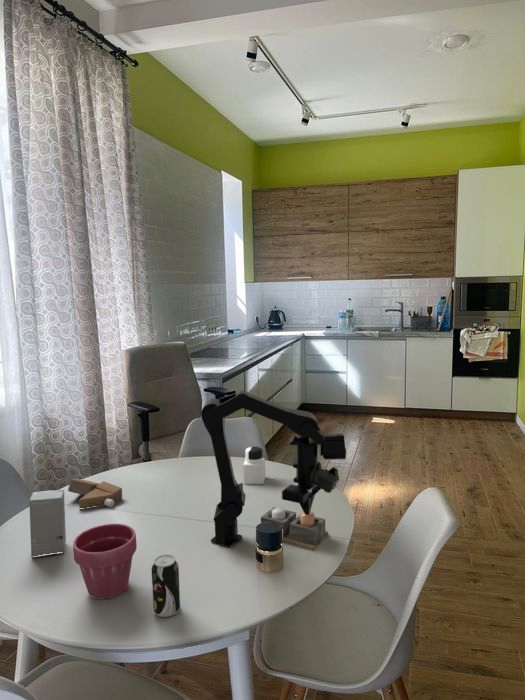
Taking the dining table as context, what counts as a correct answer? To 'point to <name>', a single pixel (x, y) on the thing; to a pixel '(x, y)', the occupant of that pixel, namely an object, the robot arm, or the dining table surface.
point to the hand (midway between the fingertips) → (307, 514)
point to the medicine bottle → (254, 466)
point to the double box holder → (298, 530)
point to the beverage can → (165, 586)
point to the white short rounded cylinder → (278, 513)
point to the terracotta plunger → (307, 519)
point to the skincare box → (47, 522)
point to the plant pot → (105, 558)
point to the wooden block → (95, 493)
